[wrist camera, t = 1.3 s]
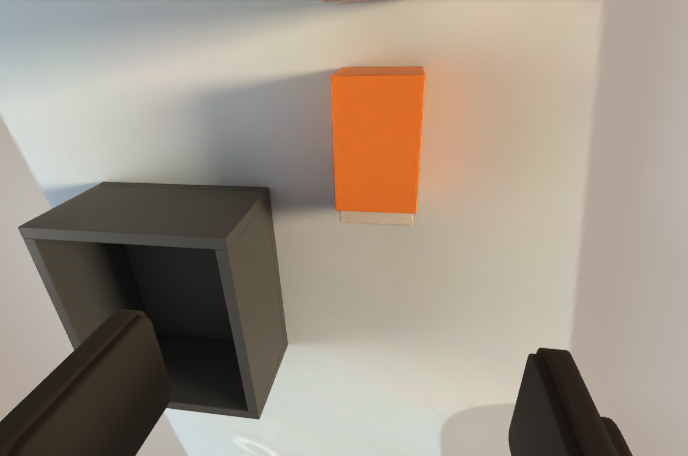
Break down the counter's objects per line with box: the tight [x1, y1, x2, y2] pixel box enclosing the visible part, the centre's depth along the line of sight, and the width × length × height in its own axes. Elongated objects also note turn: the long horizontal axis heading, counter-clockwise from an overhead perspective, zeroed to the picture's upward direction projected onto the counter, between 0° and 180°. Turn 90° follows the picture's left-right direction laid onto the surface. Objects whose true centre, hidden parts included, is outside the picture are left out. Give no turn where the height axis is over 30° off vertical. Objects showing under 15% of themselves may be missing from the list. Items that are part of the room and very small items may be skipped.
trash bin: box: [18, 182, 288, 419], centre depth 30 cm, size 16×14×8 cm
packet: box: [331, 67, 425, 225], centre depth 25 cm, size 9×5×4 cm, turn 1°
